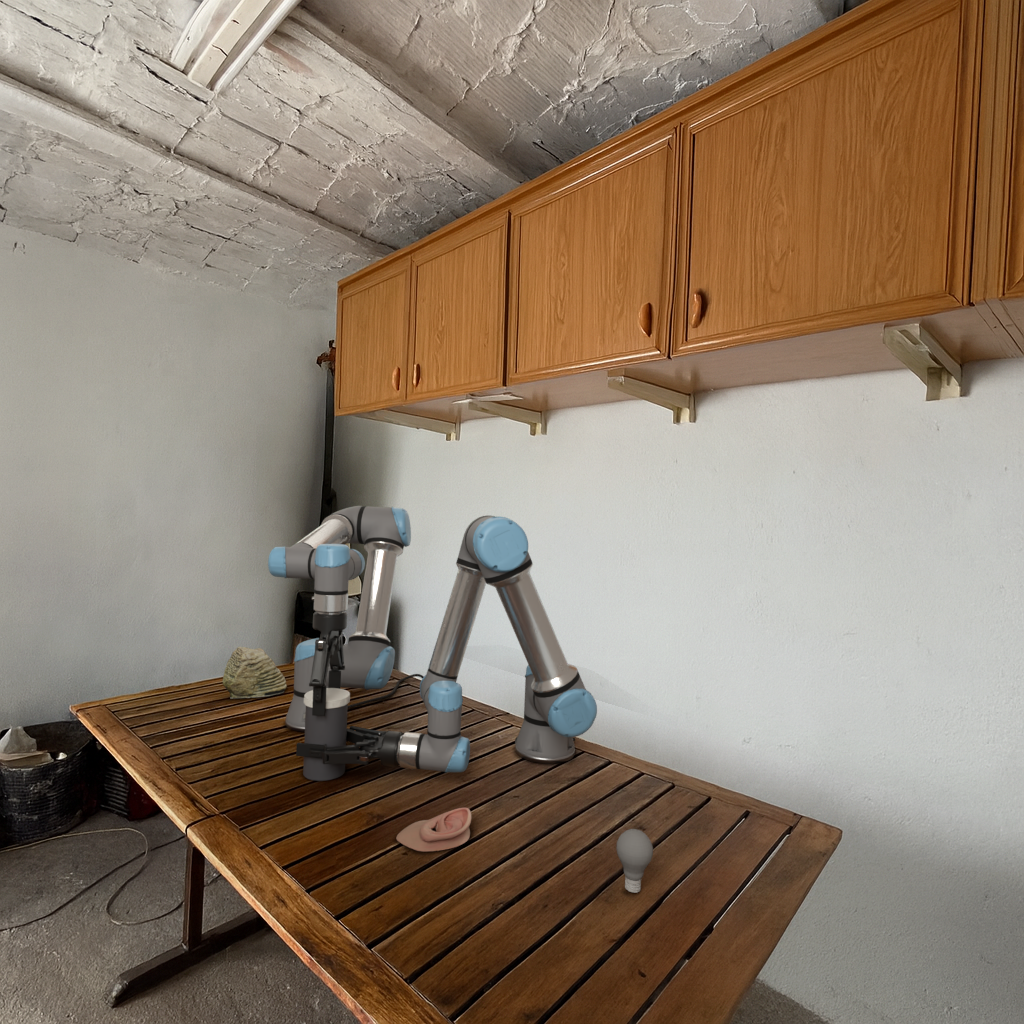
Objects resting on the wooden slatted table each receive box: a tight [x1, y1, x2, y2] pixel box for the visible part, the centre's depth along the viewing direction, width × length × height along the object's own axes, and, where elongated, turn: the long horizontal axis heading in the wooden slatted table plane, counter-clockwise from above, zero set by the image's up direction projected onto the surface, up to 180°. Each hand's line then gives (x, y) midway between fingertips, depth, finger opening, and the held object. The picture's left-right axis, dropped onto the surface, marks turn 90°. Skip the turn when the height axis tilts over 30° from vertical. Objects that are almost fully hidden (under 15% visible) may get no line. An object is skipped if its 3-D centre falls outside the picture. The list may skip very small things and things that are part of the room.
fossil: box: [222, 646, 288, 699], centre depth 198 cm, size 9×18×15 cm, turn 132°
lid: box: [304, 688, 351, 709], centre depth 145 cm, size 10×10×2 cm
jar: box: [302, 703, 349, 782], centre depth 146 cm, size 9×9×18 cm
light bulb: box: [615, 828, 654, 894], centre depth 106 cm, size 6×6×10 cm
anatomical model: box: [395, 807, 472, 853], centre depth 120 cm, size 13×4×12 cm
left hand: (326, 706), depth 145 cm, fingers open, 11 cm apart
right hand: (306, 740), depth 146 cm, fingers closed on jar, 9 cm apart
